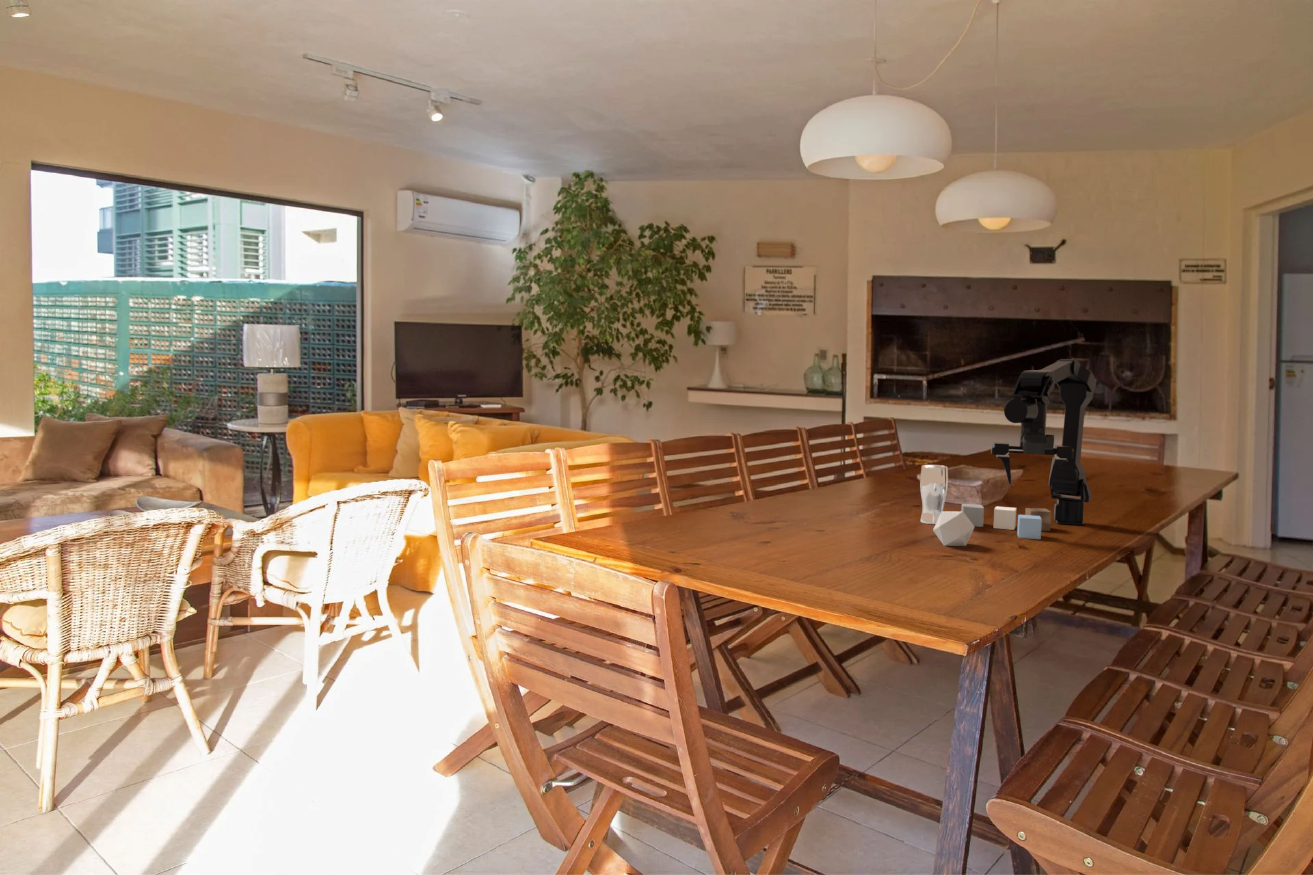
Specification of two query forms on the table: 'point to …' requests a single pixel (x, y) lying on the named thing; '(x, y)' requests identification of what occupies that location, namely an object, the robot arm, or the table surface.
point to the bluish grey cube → (1029, 526)
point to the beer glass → (933, 492)
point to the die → (953, 528)
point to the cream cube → (1004, 518)
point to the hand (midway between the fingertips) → (1029, 485)
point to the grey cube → (974, 513)
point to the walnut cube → (1043, 514)
